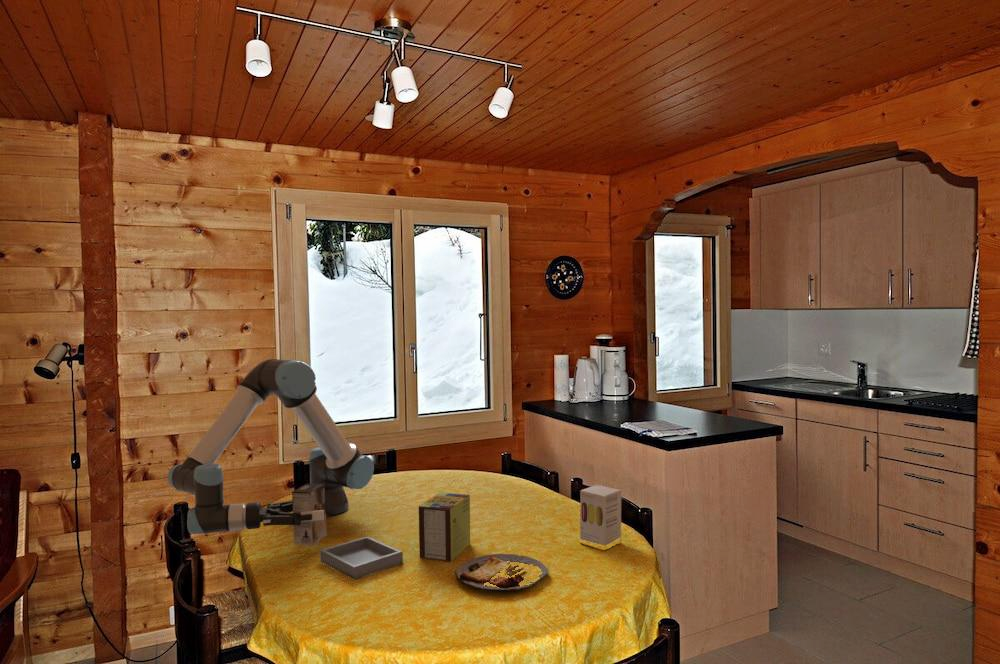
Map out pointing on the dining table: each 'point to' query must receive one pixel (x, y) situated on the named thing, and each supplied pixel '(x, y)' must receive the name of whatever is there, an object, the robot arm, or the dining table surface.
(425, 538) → the protein box
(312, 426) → the robot arm
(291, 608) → the dining table surface
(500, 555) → the food plate
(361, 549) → the tray
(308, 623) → the dining table surface
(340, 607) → the dining table surface
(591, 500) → the supplement box
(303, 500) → the coffee box
